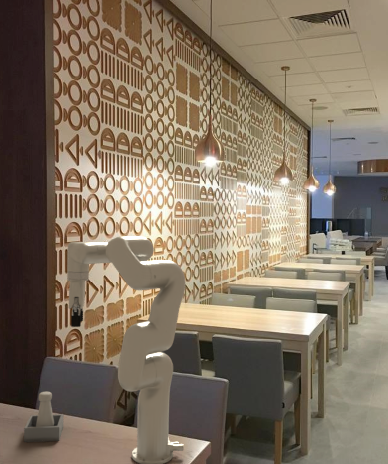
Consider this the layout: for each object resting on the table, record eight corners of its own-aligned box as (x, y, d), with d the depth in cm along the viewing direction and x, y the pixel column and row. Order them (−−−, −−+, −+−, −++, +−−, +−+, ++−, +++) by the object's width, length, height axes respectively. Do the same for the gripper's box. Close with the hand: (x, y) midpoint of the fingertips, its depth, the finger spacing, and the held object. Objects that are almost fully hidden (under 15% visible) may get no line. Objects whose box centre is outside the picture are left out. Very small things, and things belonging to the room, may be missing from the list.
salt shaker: (56, 428, 173) (56, 389, 173) (51, 435, 167) (52, 395, 167) (38, 427, 173) (39, 389, 173) (33, 434, 167) (34, 395, 167)
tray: (63, 427, 176) (63, 414, 176) (59, 440, 165) (59, 427, 165) (30, 428, 175) (30, 415, 175) (24, 442, 164) (24, 428, 164)
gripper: (69, 273, 191) (69, 319, 192) (64, 279, 174) (63, 329, 174) (90, 273, 192) (89, 319, 193) (86, 279, 175) (86, 328, 175)
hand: (77, 323), depth 183 cm, fingers open, 9 cm apart
